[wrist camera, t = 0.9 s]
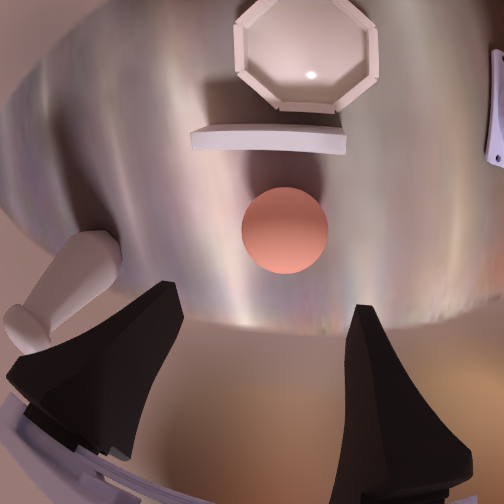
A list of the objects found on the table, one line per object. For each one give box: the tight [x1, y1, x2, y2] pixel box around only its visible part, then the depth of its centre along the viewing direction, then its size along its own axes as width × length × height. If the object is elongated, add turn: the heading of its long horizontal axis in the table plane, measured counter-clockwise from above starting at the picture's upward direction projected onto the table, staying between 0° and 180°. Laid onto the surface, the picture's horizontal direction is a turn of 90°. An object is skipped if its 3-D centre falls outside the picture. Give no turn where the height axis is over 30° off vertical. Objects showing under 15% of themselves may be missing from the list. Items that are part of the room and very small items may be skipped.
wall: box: [190, 124, 346, 155], centre depth 14 cm, size 8×1×3 cm, turn 92°
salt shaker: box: [3, 230, 122, 355], centre depth 19 cm, size 6×6×13 cm
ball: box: [242, 187, 328, 274], centre depth 16 cm, size 5×5×5 cm
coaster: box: [233, 0, 379, 114], centre depth 12 cm, size 8×8×1 cm
